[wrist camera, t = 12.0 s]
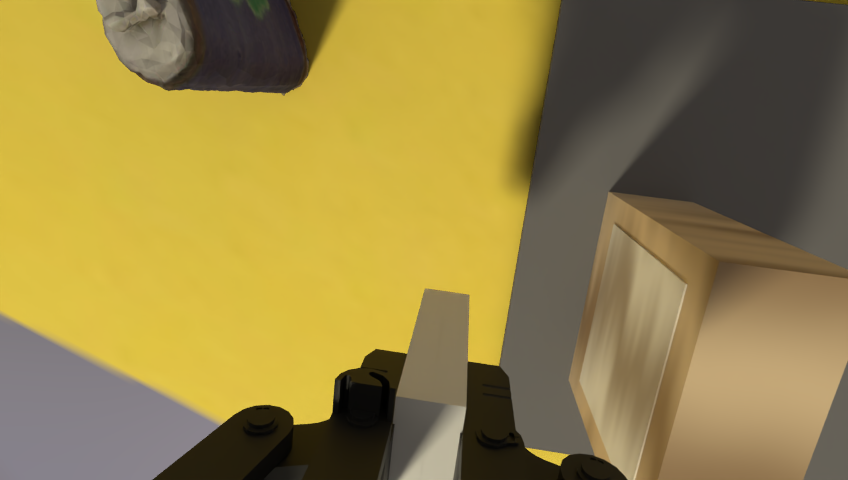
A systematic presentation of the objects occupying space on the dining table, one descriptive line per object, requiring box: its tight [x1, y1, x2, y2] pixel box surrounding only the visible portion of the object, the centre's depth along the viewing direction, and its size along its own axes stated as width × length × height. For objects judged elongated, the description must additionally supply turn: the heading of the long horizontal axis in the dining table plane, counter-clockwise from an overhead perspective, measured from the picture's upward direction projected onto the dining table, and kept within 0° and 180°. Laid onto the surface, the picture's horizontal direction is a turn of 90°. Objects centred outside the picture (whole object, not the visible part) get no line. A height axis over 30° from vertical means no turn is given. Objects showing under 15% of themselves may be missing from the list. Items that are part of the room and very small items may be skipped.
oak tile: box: [569, 192, 848, 480], centre depth 18 cm, size 9×4×10 cm, turn 173°
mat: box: [499, 0, 848, 480], centre depth 22 cm, size 21×18×1 cm
